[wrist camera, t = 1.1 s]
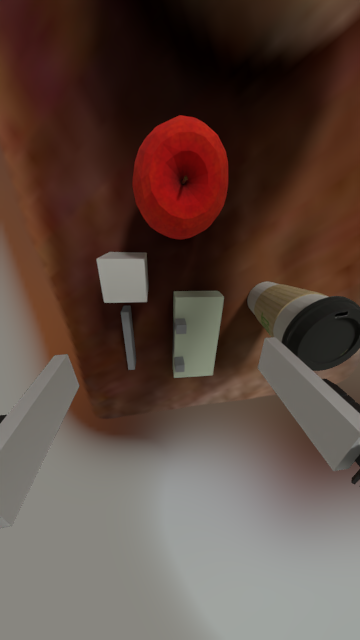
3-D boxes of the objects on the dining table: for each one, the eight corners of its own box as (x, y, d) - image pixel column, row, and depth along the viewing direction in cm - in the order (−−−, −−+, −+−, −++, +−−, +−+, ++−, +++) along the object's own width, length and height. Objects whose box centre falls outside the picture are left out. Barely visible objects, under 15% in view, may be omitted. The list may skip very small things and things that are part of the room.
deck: (121, 291, 30) (115, 304, 25) (218, 290, 32) (229, 302, 27) (131, 369, 38) (127, 391, 33) (208, 364, 40) (216, 384, 35)
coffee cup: (237, 325, 36) (286, 381, 23) (237, 276, 31) (299, 312, 18) (284, 315, 36) (359, 366, 23) (291, 266, 32) (390, 294, 18)
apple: (162, 129, 22) (170, 29, 11) (223, 186, 25) (275, 153, 14) (125, 209, 25) (102, 193, 14) (183, 250, 28) (201, 263, 17)
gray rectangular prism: (109, 252, 27) (96, 258, 21) (146, 252, 28) (144, 259, 21) (114, 287, 29) (104, 302, 23) (148, 287, 30) (146, 302, 24)
